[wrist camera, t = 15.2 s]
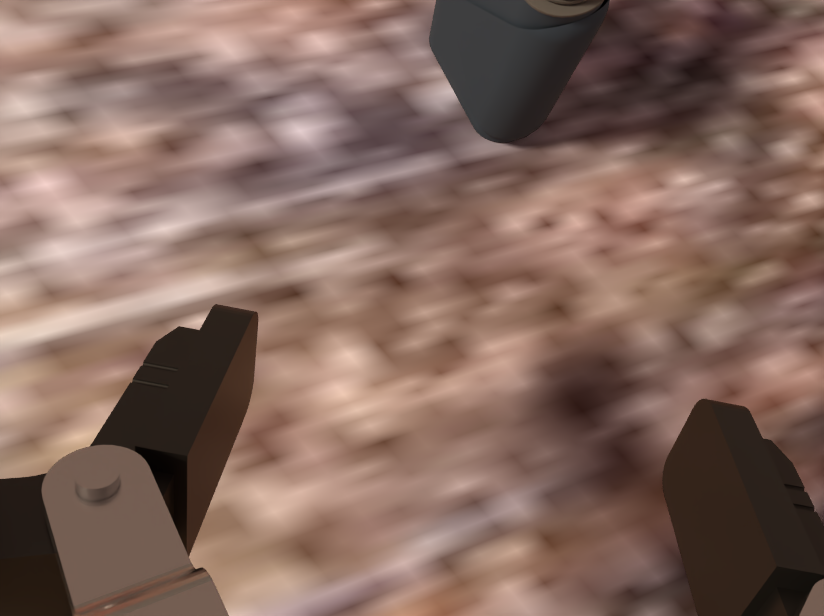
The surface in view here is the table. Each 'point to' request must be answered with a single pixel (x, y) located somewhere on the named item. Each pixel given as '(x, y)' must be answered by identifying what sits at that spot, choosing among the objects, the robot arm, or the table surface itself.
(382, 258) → the table surface
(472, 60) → the vaping device
